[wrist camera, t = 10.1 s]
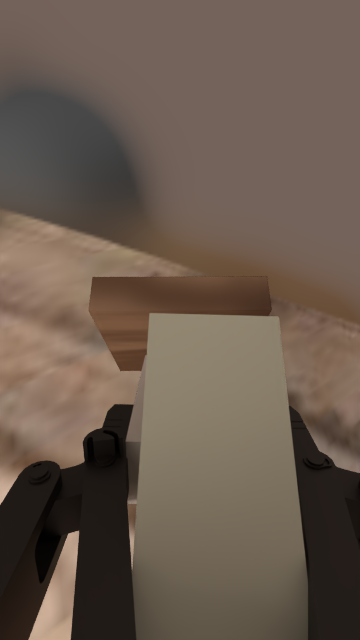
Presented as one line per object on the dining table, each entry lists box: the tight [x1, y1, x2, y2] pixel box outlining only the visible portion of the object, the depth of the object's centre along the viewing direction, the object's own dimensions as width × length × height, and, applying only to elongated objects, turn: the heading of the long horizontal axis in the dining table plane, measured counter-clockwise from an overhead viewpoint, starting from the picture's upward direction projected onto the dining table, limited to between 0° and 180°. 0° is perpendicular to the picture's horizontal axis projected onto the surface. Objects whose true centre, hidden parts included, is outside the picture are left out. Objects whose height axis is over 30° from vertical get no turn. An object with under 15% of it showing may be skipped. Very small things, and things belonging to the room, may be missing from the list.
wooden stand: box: [89, 276, 271, 371], centre depth 32 cm, size 14×14×16 cm
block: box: [132, 313, 308, 640], centre depth 14 cm, size 8×5×12 cm, turn 179°
